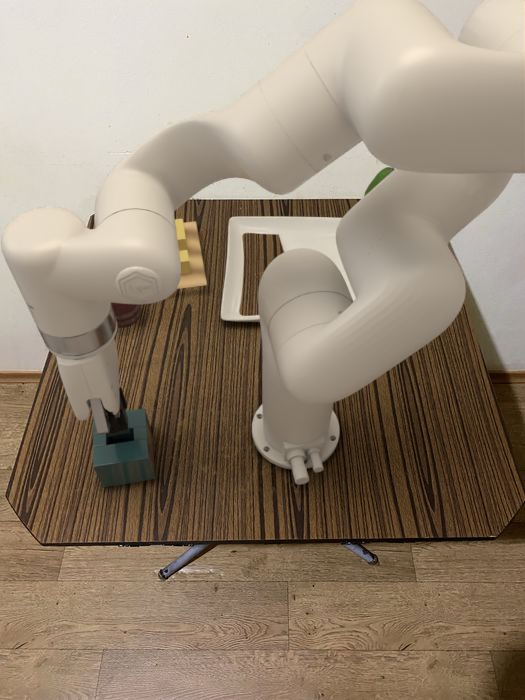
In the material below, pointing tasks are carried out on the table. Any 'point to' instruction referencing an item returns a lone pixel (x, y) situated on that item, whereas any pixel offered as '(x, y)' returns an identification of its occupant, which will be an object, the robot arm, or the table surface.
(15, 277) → the robot arm
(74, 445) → the table surface
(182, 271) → the block
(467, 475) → the table surface
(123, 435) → the knife
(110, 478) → the stand
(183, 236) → the butter block
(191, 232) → the butter board
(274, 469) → the table surface
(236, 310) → the square plate
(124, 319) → the can
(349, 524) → the table surface
